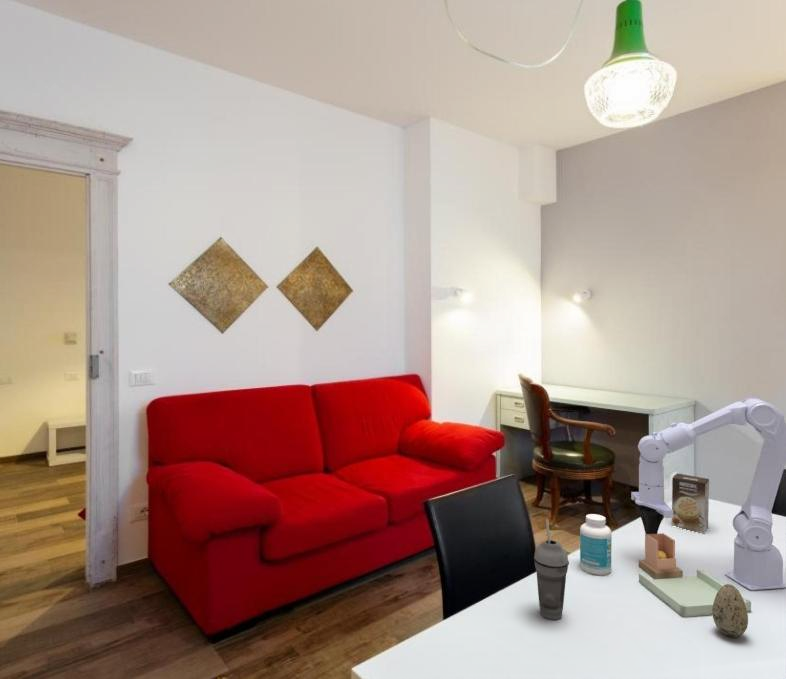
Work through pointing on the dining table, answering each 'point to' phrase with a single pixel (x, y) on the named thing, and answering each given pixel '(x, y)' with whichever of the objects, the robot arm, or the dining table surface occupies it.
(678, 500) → the coffee box
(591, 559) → the pill bottle
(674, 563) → the brown u-shaped block
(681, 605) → the tray
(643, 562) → the coaster
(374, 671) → the dining table surface
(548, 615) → the beverage cup
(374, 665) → the dining table surface
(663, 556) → the ball
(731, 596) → the decorative egg
